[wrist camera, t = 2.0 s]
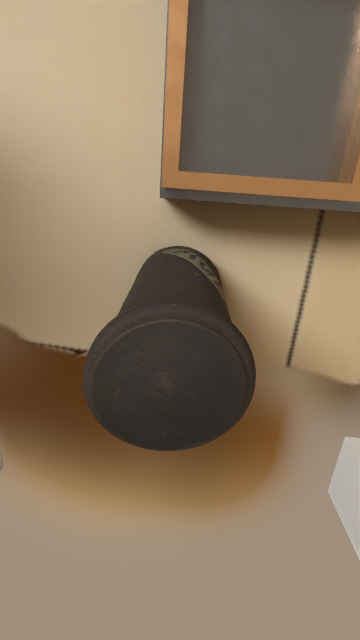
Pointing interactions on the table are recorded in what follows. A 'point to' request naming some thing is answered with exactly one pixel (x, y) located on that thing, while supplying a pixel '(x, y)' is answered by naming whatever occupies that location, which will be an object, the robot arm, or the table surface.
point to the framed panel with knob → (263, 103)
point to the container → (170, 358)
